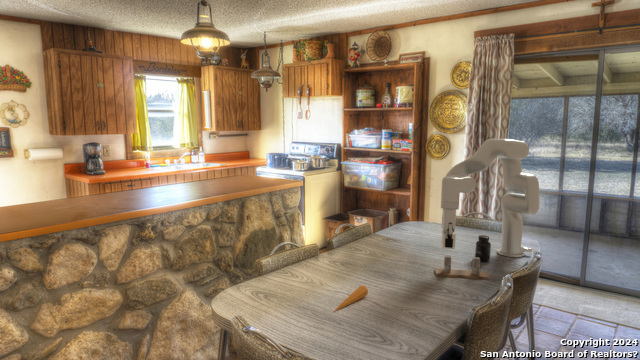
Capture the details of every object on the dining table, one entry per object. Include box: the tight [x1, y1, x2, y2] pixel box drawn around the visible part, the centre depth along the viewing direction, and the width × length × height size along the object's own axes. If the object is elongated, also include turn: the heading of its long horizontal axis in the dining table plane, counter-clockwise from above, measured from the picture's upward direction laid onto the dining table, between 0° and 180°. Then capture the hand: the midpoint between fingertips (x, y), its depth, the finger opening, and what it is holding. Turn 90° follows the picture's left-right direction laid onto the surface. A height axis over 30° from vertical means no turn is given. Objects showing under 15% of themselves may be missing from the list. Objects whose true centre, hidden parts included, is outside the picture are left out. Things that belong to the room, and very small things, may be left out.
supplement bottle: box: [474, 234, 492, 263], centre depth 199 cm, size 7×7×12 cm
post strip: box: [434, 254, 490, 280], centre depth 180 cm, size 22×7×8 cm, turn 79°
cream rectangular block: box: [441, 230, 457, 250], centre depth 179 cm, size 5×5×7 cm
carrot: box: [334, 285, 369, 312], centre depth 151 cm, size 20×4×4 cm, turn 139°
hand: (448, 245), depth 179 cm, fingers closed on cream rectangular block, 5 cm apart
